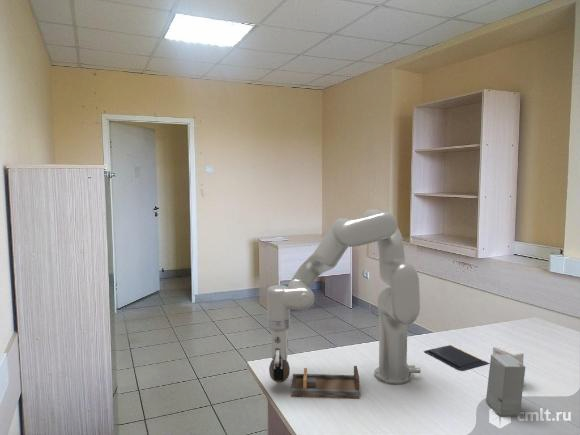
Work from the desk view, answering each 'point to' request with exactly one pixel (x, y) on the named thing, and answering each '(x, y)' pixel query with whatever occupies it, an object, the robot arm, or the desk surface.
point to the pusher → (308, 380)
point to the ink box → (508, 352)
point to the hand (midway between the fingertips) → (279, 374)
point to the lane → (327, 386)
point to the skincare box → (505, 384)
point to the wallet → (456, 358)
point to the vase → (285, 370)
